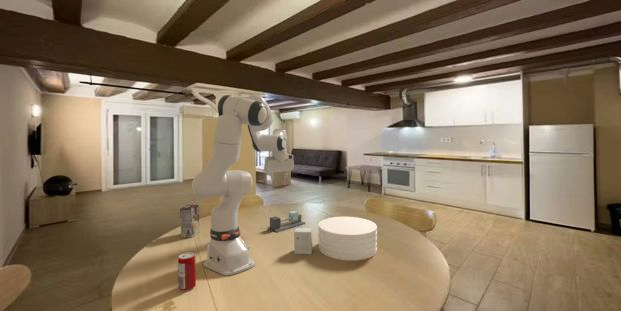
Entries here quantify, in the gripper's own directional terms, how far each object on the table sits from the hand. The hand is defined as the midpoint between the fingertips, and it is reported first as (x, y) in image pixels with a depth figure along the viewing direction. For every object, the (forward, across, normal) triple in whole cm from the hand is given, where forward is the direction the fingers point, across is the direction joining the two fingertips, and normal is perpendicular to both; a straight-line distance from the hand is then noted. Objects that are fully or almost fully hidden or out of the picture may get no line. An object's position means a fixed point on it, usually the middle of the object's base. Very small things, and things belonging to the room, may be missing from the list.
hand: (279, 178), depth 160 cm
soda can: (+28, -65, -34) cm, 78 cm away
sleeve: (+27, +8, -5) cm, 28 cm away
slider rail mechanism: (+29, +3, -5) cm, 30 cm away
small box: (+28, -15, -40) cm, 51 cm away
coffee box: (+30, -45, +21) cm, 58 cm away
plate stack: (+28, +4, -51) cm, 58 cm away
